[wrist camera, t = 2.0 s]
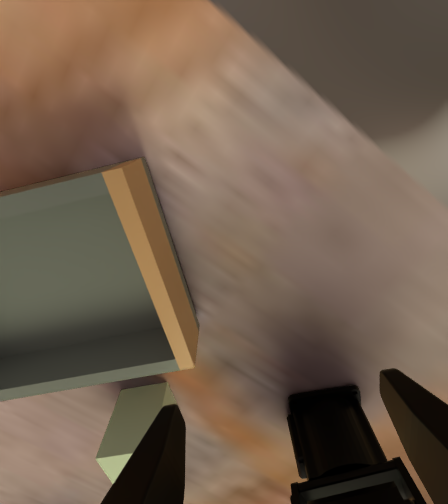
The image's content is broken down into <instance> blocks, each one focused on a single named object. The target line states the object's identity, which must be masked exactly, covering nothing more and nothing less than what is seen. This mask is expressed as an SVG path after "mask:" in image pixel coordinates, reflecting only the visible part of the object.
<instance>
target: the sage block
mask: <svg viewBox="0 0 448 504" xmlns="http://www.w3.org/2000/svg"><path fill="white" fill-rule="evenodd" d="M170 404H177V403H176V401H175V398H174V396H173V394H172V391H171V389H170V387H169V384H168V382H164V383H159V384H153V385H147V386H141V387H135V388H129V389H123V390H121V392H120V394H119V397H118V400H117V402H116V405H115V408H114V410H113V413H112V416H111V418H110V421H109V424H108V426H107V429H106V432H105V434H104V437H103V440H102V443H101V445H100V448H99V451H98V453H97V456H96V460H97V462H98V463H99V465H100V466H101V468H102V469H103V470H104V472H105V473H106V475H107V476H108V478H109V479H110V481H111V482H112V484H113V483H114V482H115V480H116V479H117V477H118V476H119V474H120V472H121V471H122V469H123V468H124V466H125V465H126V463H127V461H128V460H129V458H130V457H131V455H132V454H133V452H134V450H135V449H136V447H137V446H138V444H139V443H140V441H141V439H142V438H143V436H144V435H145V433H146V432H147V430H148V428H149V427H150V425H151V424H152V422H153V421H154V419H155V417H156V416H157V414H158V413H159V411H160V410H161V408H162V407H163V406H165V405H170Z"/></svg>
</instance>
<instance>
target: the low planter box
mask: <svg viewBox="0 0 448 504" xmlns="http://www.w3.org/2000/svg"><path fill="white" fill-rule="evenodd" d="M198 334H199V322H198V319H197V316H196V313H195V310H194V307H193V303H192V300H191V297H190V294H189V291H188V288H187V285H186V282H185V279H184V276H183V273H182V270H181V267H180V264H179V261H178V258H177V255H176V252H175V249H174V246H173V243H172V240H171V236H170V233H169V230H168V227H167V224H166V221H165V218H164V215H163V212H162V209H161V206H160V203H159V200H158V197H157V194H156V191H155V188H154V185H153V182H152V179H151V176H150V173H149V169H148V166H147V163H146V160H145V157H141V158H137V159H133V160H129V161H125V162H121V163H117V164H112V165H108V166H104V167H100V168H96V169H92V170H88V171H84V172H80V173H76V174H71V175H67V176H63V177H59V178H55V179H51V180H47V181H43V182H39V183H35V184H30V185H26V186H22V187H18V188H14V189H10V190H6V191H2V192H0V401H5V400H11V399H17V398H23V397H28V396H34V395H40V394H46V393H52V392H57V391H63V390H69V389H75V388H81V387H86V386H92V385H98V384H104V383H110V382H115V381H121V380H127V379H133V378H139V377H144V376H150V375H156V374H162V373H168V372H173V371H179V370H185V369H191V368H195V361H196V352H197V343H198Z"/></svg>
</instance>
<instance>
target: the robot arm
mask: <svg viewBox="0 0 448 504" xmlns="http://www.w3.org/2000/svg"><path fill="white" fill-rule="evenodd" d="M380 394H381V398H382V400H383V402H384V405H385V407H386V409H387V411H388V413H389V416H390V418H391V420H392V422H393V425H394V427H395V429H396V431H397V434H398V436H399V438H400V440H401V442H402V445H403V447H404V449H405V451H406V453H407V456H408V458H409V460H410V461H411V463H412V465H413V467H414V469H415V471H416V472H417V474H418V476H419V478H420V480H421V481H422V483H423V485H424V487H425V488H426V490H427V492H428V494H429V495H430V497H431V499H432V501H433V503H434V504H448V405H447V404H446V403H445V402H443V401H442V400H440V399H439V398H438V397H436V396H435V395H433V394H432V393H430V392H429V391H428V390H426V389H425V388H423V387H422V386H421V385H419V384H418V383H416V382H415V381H413V380H412V379H411V378H409V377H408V376H406V375H405V374H403V373H402V372H401V371H399V370H398V369H395V368H391V369H385V370H381V371H380ZM288 401H289V406H290V411H291V414H289V415H288V416H287V421H288V426H289V431H290V436H291V440H292V445H293V450H294V454H295V459H296V464H297V468H298V473H299V476H300V477H301V478H302V479H305V478H307V481H306V482H302V483H298V482H296V483H292V484H291V492H292V495H291V497H290V499H291V504H426V502H425V500H424V498H423V497H422V495H421V493H420V491H419V490H418V488H417V486H416V484H415V483H414V481H413V479H412V477H411V476H410V474H409V472H408V471H407V469H406V467H405V465H404V464H403V462H402V460H401V458H400V457H396V458H392V459H393V460H390V461H387V459H386V457H385V455H384V452H383V450H382V448H381V446H380V444H379V442H378V440H377V438H376V436H375V434H374V432H373V430H372V428H371V426H370V424H369V421H368V419H367V417H366V415H365V413H364V411H363V409H362V407H361V399H360V390H359V388H358V387H357V386H355V385H353V386H346V387H340V388H334V389H327V390H321V391H315V392H309V393H302V394H296V395H291V396H290V397H289V398H288ZM185 439H186V427H185V421H184V419H183V416H182V414H181V412H180V409H179V407H178V405H177V404H170V405H165V406H163V407H162V408H161V410H160V411H159V413H158V414H157V416H156V417H155V419H154V421H153V422H152V424H151V425H150V427H149V428H148V430H147V432H146V433H145V435H144V436H143V438H142V439H141V441H140V443H139V444H138V446H137V447H136V449H135V450H134V452H133V454H132V455H131V457H130V458H129V460H128V461H127V463H126V465H125V466H124V468H123V469H122V471H121V472H120V474H119V476H118V477H117V479H116V480H115V482H114V483H113V485H112V487H111V488H110V490H109V491H108V493H107V494H106V496H105V498H104V499H103V501H102V502H101V504H183V501H184V489H185Z"/></svg>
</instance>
